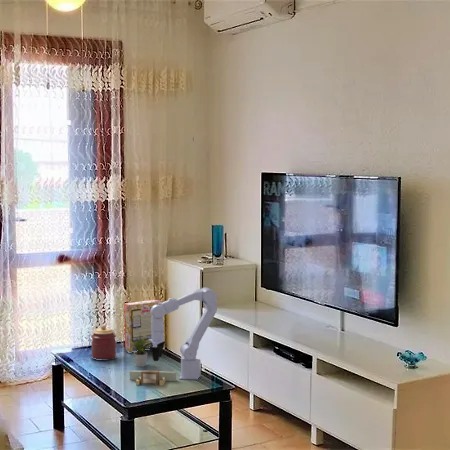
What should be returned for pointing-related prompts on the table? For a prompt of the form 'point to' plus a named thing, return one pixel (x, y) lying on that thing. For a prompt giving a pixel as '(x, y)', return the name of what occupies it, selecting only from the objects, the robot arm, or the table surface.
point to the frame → (149, 377)
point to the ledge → (162, 377)
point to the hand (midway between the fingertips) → (157, 358)
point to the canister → (103, 343)
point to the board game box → (138, 322)
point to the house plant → (140, 351)
